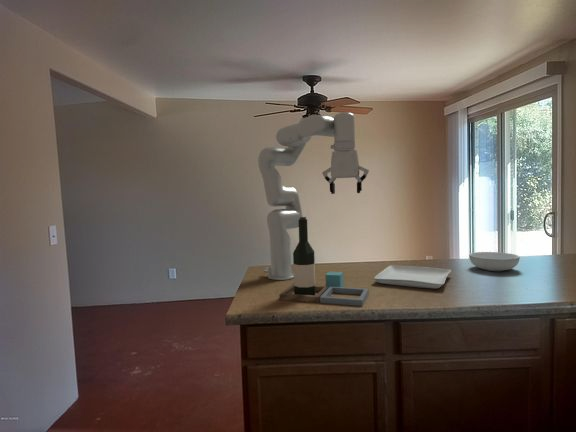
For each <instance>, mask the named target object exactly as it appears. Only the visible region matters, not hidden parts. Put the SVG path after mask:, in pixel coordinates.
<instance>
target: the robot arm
mask: <svg viewBox="0 0 576 432" xmlns="http://www.w3.org/2000/svg"><path fill="white" fill-rule="evenodd" d="M355 127H356V126H355V115H354V113H352V112H338V113H336V114H335V115H334V116H330V115H322V114H315V115H314V114H313V115H309V116H307V117H306V116H305V117H303V118H302V119H300V121H298V122H297V123H293V124H289V125H287V126H283V127H280V129H278V130H277V131H276V134H275V138H276V141H277V143H278V144H279V145H281V146H282V147H281V146H280V147H279V146H268V147H264V148H262V149H261V151H260V152H259V154H258V158H257V163H258V168H259V172H260V175H261V177H262V183H263V186H264V187H263V188H264V192H265V198H266V201H267V204H268V205H269V207H274V208H275V209H273V210H271V211H270V212H269V213H268V214H267V217H266V224H267V228H268V232H269V246H270V247H269V252H270V253H269V254H270V267H263V269H262V270H263V272H264V273H268V275H267V278H268V279H269V280H273V281H286V280H292V279H294V272H292V250H291V246H292V245H291V244H292V243H291V237H290V234H289V232H288V231H287V230H292V229H297V228H299V219H300V217H303V211H302V207H301V206H302V205H301V201H300V200H301V199H300V196H299V192H298V191H297V190H296V188H295V187H293V186H290V185H284V184H283V180H282V176H281V174H280V172H279V171H278V170H277V168H276V167H277V166H279V167H291V166H293V165H294V164H295V163H296V162H297V160H298V158H299V157H300V155H301V154H302V152H303V150H304V149H305V147H306V145H307V143H308V142H309V141H311V139H312V137H315V136H319V137H321V136H322V137H332V138H334V139H333V140H334V142H333V144H331V145H330V149H332V150H334V151H331V158H330V160H331V161H330V167H329V168H327V169H326V170H324V171H322V175H323V177H324V179H325V180H326V181H327V183H329V193H331V195H335V193H336V187H335V186H336V185H335V181H336V180H337V179H345V178H346V179H349V178H355V180H356V181H357V182H356V193H357V194H361V191H363V188H362V182H364V180H365V179H366V178H367V175H368V174H369V172H370V170H369V169H367V168H366V167H363V166H361V165H360V162H359V156H358V150H357V149H356V142H355V140H356V137H355V132H356V131H355ZM360 171H362V172H363V174H362V176H360ZM329 173H330V176H331V178H330V177H329V175H328V174H329ZM280 207H285V208H280ZM276 208H277V209H276ZM278 208H279V209H278Z"/></svg>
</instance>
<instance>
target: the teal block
mask: <svg viewBox="0 0 576 432" xmlns="http://www.w3.org/2000/svg"><path fill="white" fill-rule="evenodd" d="M325 286H329V287H330V286H331V287H344V286H345V285H344V272H343V271H328V272H326V273H325Z"/></svg>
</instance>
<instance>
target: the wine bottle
mask: <svg viewBox="0 0 576 432" xmlns="http://www.w3.org/2000/svg"><path fill="white" fill-rule="evenodd" d="M308 233H309V232H308V219H307V216H302V217H300V219H299V227H298V243H297V245H296V246H295V249H294V251H293V253H292V259H293V260H292V261H293V273H294V278H293V284H294V292H293V294H299V295H313V296H316V292H315V286H316V270H315V269H316V267H315V266H316V265H315V263H316V262H315V260H316V259H315V258H316V257H315V250H314V249H313V247H312V245H311V244H310V242H309V237H308V236H309V235H308Z"/></svg>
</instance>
